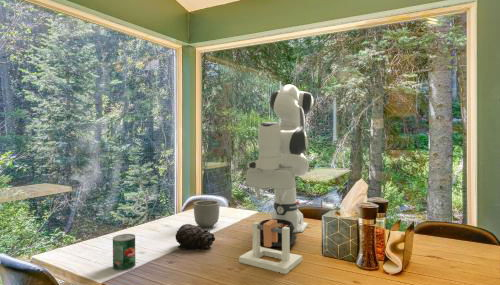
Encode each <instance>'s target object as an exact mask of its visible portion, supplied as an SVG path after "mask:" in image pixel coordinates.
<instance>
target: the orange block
mask: <svg viewBox="0 0 500 285" xmlns="http://www.w3.org/2000/svg"><path fill="white" fill-rule="evenodd" d="M268 220H269V219H268ZM272 228H277V220H273V219H272V218H271V220H269V221H268V222H266V223H264V224H263V233H264V242H263V246H264V247H265V248H271V247H273V246H272V242H275V243H276V242H278V233H277V232H271V229H272Z"/></svg>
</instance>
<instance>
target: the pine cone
mask: <svg viewBox="0 0 500 285" xmlns="http://www.w3.org/2000/svg"><path fill="white" fill-rule="evenodd" d="M175 241H176V242H177V243H178V244H179V245H178V246H177V248H178V249H181V250H188V251H212V250H213V249H212V245H213V242H215V241H216V238H215V234H214V233H211V232H210V231H209V230H208V228H207V229H205V228H201V227H200V226H199V225H194V224H192V223H191V224H190V223H185V224H183V225H181V226H180V227H179V228H178V229H177V230H176V234H175Z"/></svg>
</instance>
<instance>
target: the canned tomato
mask: <svg viewBox="0 0 500 285" xmlns="http://www.w3.org/2000/svg"><path fill="white" fill-rule="evenodd" d="M135 267H136V235H135V234H133V233H122V234H117V235H114V236H113V237H112V270H114V271H117V272H123V271H128V270H131V269H133V268H135Z"/></svg>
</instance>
